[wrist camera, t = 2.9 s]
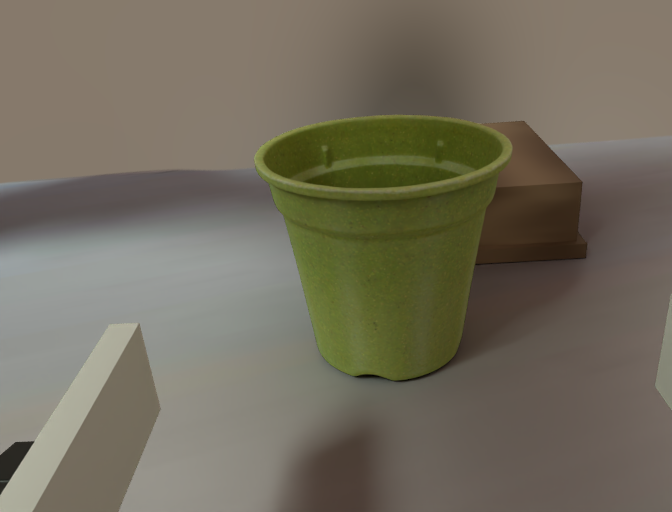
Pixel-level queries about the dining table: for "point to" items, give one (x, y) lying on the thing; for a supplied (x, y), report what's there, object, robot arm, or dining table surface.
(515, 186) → the walnut plinth
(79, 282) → the dining table surface
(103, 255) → the dining table surface
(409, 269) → the plant pot
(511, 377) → the dining table surface
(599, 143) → the dining table surface
